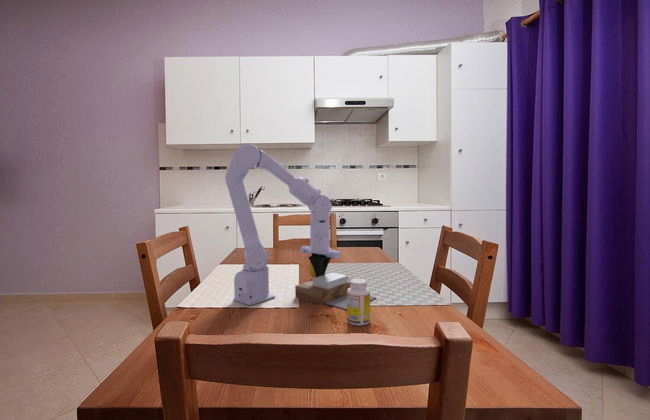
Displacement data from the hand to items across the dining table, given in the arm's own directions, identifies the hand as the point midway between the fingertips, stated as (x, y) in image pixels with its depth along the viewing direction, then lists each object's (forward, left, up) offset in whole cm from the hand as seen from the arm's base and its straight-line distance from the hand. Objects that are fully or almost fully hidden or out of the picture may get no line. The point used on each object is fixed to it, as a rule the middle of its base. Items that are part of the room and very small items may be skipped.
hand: (320, 278), depth 113 cm
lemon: (+10, +11, -4) cm, 15 cm away
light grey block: (0, -4, -1) cm, 4 cm away
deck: (0, -2, -4) cm, 5 cm away
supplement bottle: (-11, -22, -4) cm, 25 cm away
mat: (0, -12, -4) cm, 13 cm away
